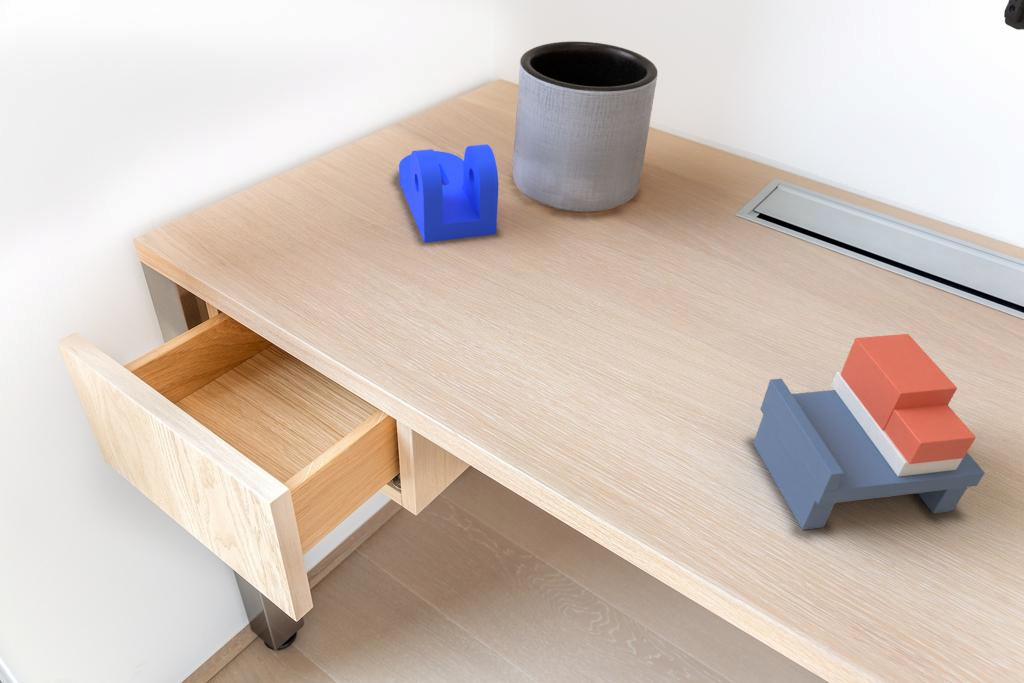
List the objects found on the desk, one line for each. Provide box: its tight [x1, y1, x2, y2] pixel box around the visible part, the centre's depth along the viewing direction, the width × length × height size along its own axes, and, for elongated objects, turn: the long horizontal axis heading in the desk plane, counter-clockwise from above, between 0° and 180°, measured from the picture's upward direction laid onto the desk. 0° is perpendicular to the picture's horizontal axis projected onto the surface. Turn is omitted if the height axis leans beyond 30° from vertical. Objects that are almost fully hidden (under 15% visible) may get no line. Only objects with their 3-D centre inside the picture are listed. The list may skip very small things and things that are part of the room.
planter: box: [511, 40, 659, 214], centre depth 95 cm, size 16×16×16 cm
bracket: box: [398, 144, 499, 243], centre depth 93 cm, size 18×8×9 cm, turn 17°
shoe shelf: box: [753, 378, 986, 531], centre depth 62 cm, size 13×10×7 cm
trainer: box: [830, 333, 977, 477], centre depth 60 cm, size 10×5×5 cm, turn 10°
